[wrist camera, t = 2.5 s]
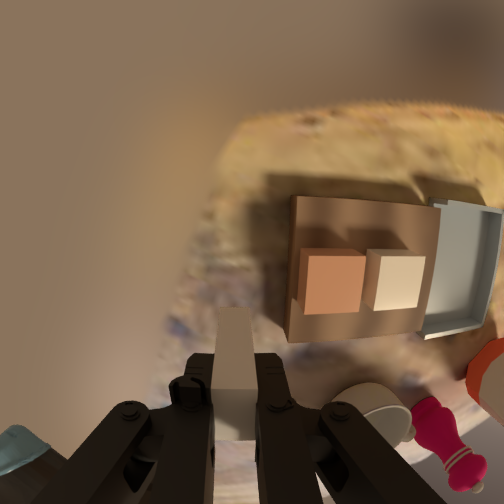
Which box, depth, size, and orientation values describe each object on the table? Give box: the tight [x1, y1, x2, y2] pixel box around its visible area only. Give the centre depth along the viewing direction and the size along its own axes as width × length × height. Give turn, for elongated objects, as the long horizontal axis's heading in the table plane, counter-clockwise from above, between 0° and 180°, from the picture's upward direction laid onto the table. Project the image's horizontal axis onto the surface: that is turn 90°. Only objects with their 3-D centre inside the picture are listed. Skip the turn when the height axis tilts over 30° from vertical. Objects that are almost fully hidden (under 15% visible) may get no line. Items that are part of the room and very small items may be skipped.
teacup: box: [331, 383, 416, 448], centre depth 30 cm, size 14×11×8 cm
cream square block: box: [361, 249, 426, 311], centre depth 25 cm, size 5×5×3 cm
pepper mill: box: [410, 397, 487, 493], centre depth 26 cm, size 7×7×20 cm
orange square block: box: [297, 248, 366, 315], centre depth 25 cm, size 5×5×3 cm
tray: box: [416, 197, 504, 340], centre depth 28 cm, size 12×16×4 cm
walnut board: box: [283, 195, 441, 343], centre depth 28 cm, size 16×14×3 cm
